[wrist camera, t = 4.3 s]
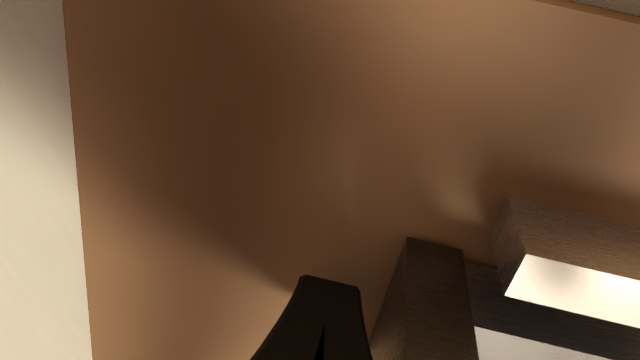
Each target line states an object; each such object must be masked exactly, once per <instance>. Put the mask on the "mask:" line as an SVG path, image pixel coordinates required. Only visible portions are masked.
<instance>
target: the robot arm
mask: <svg viewBox="0 0 640 360" xmlns="http://www.w3.org/2000/svg"><path fill="white" fill-rule="evenodd" d="M250 360H373V358H372V355H371V351H370V346H369V342H368V338H367V333H366V328H365V323H364V317H363V311H362V303H361V292H360V290H359V289H358V287H356V286H352V285H348V284H344V283H340V282H336V281H332V280H328V279H323V278H319V277H315V276H311V275H307V274H305V275H303V276H301V277H299V280H298V283H297V286H296V288H295V290H294V292H293V295H292V296H291V298H290V300H289V302H288V304H287V306H286V307H285V309H284V311H283V312H282V314H281V316H280V317H279V319H278V321H277V322H276V324H275V325H274V327H273V328H272V329H271V331H270V332H269V334H268V335H267V337H266V338H265V340H264V341H263V343H262V344H261V346H260V347H259V348H258V350H257V351H256V352H255V354H254V355H253V356H252V357H251V359H250Z"/></svg>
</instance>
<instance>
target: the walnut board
mask: <svg viewBox="0 0 640 360" xmlns="http://www.w3.org/2000/svg"><path fill="white" fill-rule="evenodd" d="M62 1H63V13H64V25H65V36H66V48H67V60H68V72H69V84H70V96H71V108H72V120H73V131H74V143H75V155H76V167H77V179H78V191H79V203H80V215H81V226H82V238H83V250H84V262H85V274H86V286H87V298H88V310H89V321H90V333H91V345H92V357H93V360H250V359H251V357H252V356H253V355H254V354H255V352H256V351H257V350H258V348H259V347H260V346H261V344H262V343H263V341H264V340H265V338H266V337H267V335H268V334H269V332H270V331H271V329H272V328H273V327H274V325H275V324H276V322H277V321H278V319H279V317H280V316H281V314H282V312H283V311H284V309H285V307H286V306H287V304H288V302H289V300H290V298H291V296H292V295H293V292H294V290H295V288H296V286H297V283H298V280H299V277H301V276H303V275H305V274H307V275H311V276H315V277H319V278H323V279H328V280H332V281H336V282H340V283H344V284H348V285H352V286H356V287H358V289H359V290H360V292H361V303H362V311H363V317H364V323H365V328H366V333H367V338H368V342H369V340H370V337H371V334H372V331H373V328H374V326H375V323H376V320H377V317H378V315H379V312H380V309H381V306H382V303H383V301H384V298H385V295H386V292H387V290H388V287H389V284H390V281H391V278H392V276H393V273H394V270H395V267H396V265H397V262H398V259H399V256H400V253H401V251H402V248H403V245H404V242H405V240H406V237H411V238H415V239H419V240H423V241H427V242H431V243H436V244H440V245H444V246H448V247H452V248H457V249H461V250H463V257H464V262H466V263H470V264H474V265H479V266H483V267H487V268H491V269H495V270H498V268H497V264H496V259H495V255H494V251H493V247H492V242H491V238H490V233H491V231H492V229H493V227H494V224H495V222H496V220H497V218H498V216H499V214H500V212H501V210H502V208H503V205H504V203H505V201H506V199H507V197H508V196H511V197H515V198H519V199H524V200H528V201H532V202H536V203H540V204H545V205H549V206H553V207H557V208H562V209H566V210H570V211H574V212H579V213H583V214H587V215H591V216H596V217H600V218H604V219H608V220H612V221H617V222H621V223H625V224H629V225H634V226H638V227H640V17H638V16H634V15H629V14H625V13H621V12H616V11H612V10H607V9H603V8H599V7H594V6H590V5H585V4H581V3H577V2H572V1H568V0H62Z"/></svg>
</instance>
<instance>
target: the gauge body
mask: <svg viewBox="0 0 640 360" xmlns="http://www.w3.org/2000/svg"><path fill="white" fill-rule="evenodd" d="M490 238H491V242H492V247H493V251H494V255H495V259H496V264H497V268H498V272H499V277H500V281H501V285H502V289H503V294H504V296H507V297H511V298H515V299H520V300H524V301H528V302H532V303H536V304H540V305H545V306H549V307H553V308H557V309H561V310H565V311H570V312H574V313H578V314H582V315H586V316H590V317H595V318H599V319H603V320H607V321H611V322H615V323H620V324H624V325H628V326H632V327H636V328H640V227H638V226H634V225H629V224H625V223H621V222H617V221H612V220H608V219H604V218H600V217H596V216H591V215H587V214H583V213H579V212H574V211H570V210H566V209H562V208H557V207H553V206H549V205H545V204H540V203H536V202H532V201H528V200H524V199H519V198H515V197H511V196H508V197H507V199H506V201H505V203H504V205H503V208H502V210H501V212H500V214H499V216H498V218H497V220H496V222H495V224H494V227H493V229H492V231H491V233H490Z"/></svg>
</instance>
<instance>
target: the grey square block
mask: <svg viewBox="0 0 640 360" xmlns="http://www.w3.org/2000/svg"><path fill="white" fill-rule="evenodd" d="M369 346H370V351H371V355H372V358H373V360H640V328H636V327H632V326H628V325H624V324H620V323H615V322H611V321H607V320H603V319H599V318H595V317H590V316H586V315H582V314H578V313H574V312H570V311H565V310H561V309H557V308H553V307H549V306H545V305H540V304H536V303H532V302H528V301H524V300H520V299H515V298H511V297H507V296H504V294H503V289H502V285H501V281H500V277H499V272H498V270H495V269H491V268H487V267H483V266H479V265H474V264H470V263H466V262H464V257H463V250H461V249H457V248H452V247H448V246H444V245H440V244H436V243H431V242H427V241H423V240H419V239H415V238H411V237H406V240H405V242H404V245H403V248H402V251H401V253H400V256H399V259H398V262H397V265H396V267H395V270H394V273H393V276H392V278H391V281H390V284H389V287H388V290H387V292H386V295H385V298H384V301H383V303H382V306H381V309H380V312H379V315H378V317H377V320H376V323H375V326H374V328H373V331H372V334H371V337H370V340H369Z"/></svg>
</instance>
